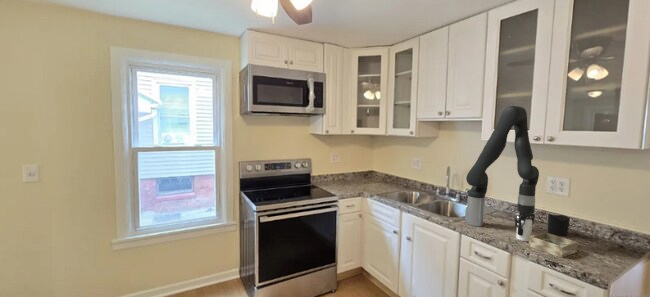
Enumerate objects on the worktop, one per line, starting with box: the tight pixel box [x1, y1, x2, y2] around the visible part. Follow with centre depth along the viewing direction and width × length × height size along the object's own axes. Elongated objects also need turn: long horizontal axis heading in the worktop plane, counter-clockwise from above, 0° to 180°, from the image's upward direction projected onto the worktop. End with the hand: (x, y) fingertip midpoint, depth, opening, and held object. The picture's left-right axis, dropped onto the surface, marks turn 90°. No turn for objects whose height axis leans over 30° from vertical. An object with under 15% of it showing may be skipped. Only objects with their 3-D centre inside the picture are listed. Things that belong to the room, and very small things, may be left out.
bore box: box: [528, 231, 578, 259], centre depth 141 cm, size 14×14×5 cm
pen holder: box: [547, 213, 570, 237], centre depth 162 cm, size 9×9×10 cm
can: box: [515, 219, 533, 243], centre depth 152 cm, size 6×6×12 cm
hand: (523, 233), depth 152 cm, fingers closed on can, 6 cm apart
